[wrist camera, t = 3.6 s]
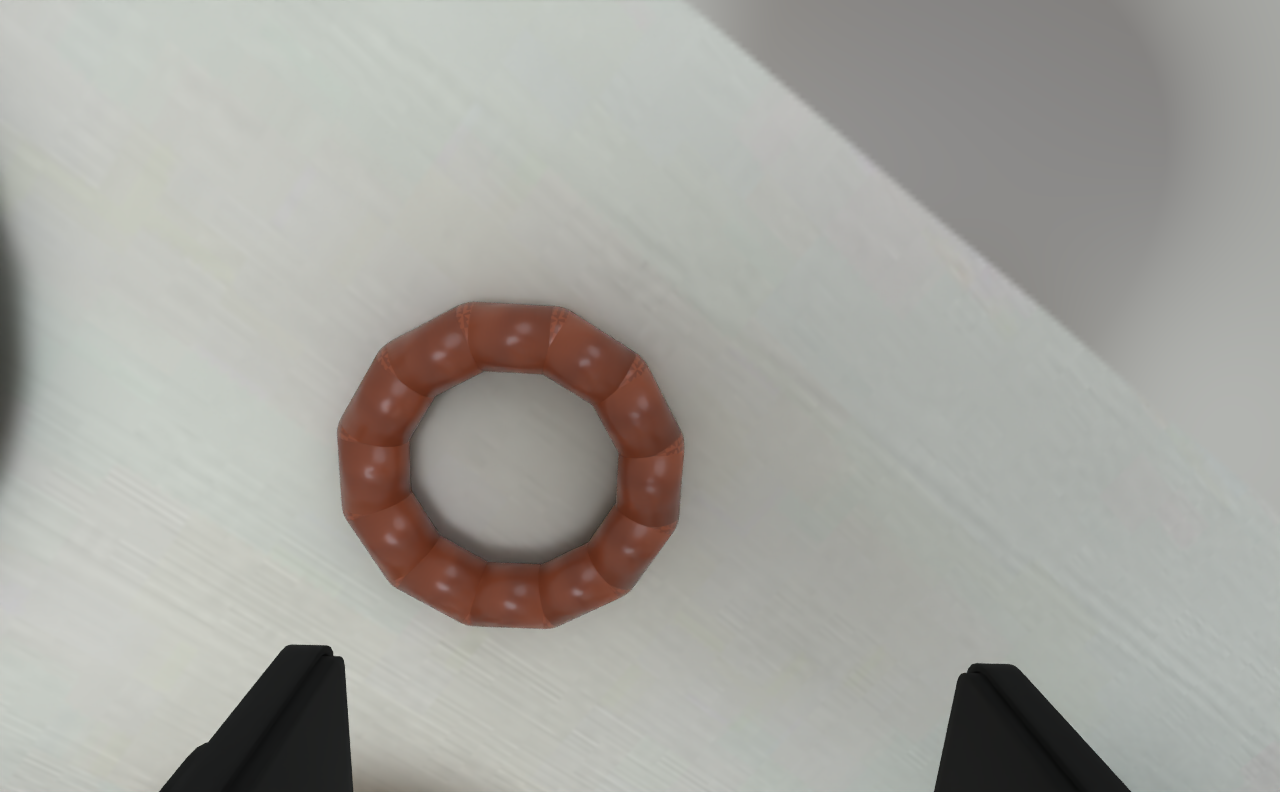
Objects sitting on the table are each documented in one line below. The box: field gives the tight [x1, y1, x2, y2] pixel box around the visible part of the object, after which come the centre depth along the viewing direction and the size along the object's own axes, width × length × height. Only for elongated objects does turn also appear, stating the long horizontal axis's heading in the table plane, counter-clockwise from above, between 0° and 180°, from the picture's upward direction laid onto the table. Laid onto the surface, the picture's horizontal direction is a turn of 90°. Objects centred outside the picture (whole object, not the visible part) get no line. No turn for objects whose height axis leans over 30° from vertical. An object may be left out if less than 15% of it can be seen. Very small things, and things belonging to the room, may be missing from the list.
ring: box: [337, 302, 684, 629], centre depth 20 cm, size 10×10×2 cm
